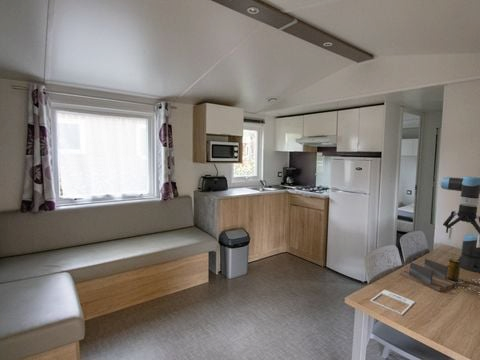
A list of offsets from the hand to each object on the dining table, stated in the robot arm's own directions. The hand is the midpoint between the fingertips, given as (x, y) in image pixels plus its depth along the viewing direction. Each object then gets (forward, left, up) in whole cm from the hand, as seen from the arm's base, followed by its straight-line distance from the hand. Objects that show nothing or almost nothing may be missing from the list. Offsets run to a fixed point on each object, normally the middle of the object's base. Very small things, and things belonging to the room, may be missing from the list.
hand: (463, 242), depth 147 cm
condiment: (-15, -8, -28) cm, 33 cm away
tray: (+2, -14, -28) cm, 31 cm away
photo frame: (+46, -7, -28) cm, 55 cm away
